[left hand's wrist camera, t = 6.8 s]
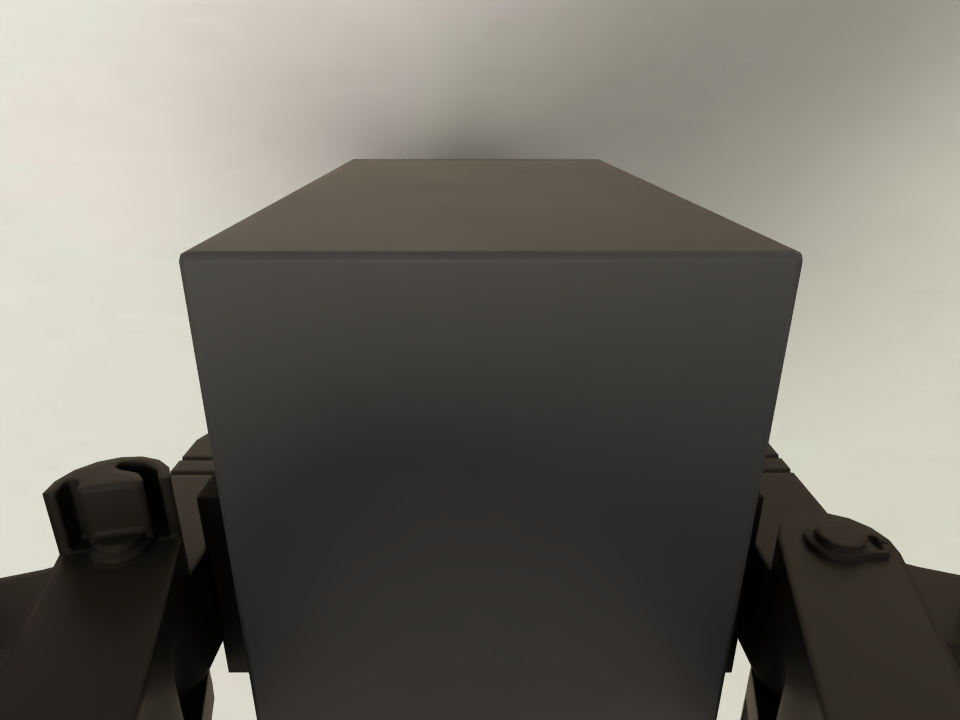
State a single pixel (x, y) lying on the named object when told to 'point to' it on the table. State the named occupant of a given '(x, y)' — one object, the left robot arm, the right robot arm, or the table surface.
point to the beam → (488, 438)
